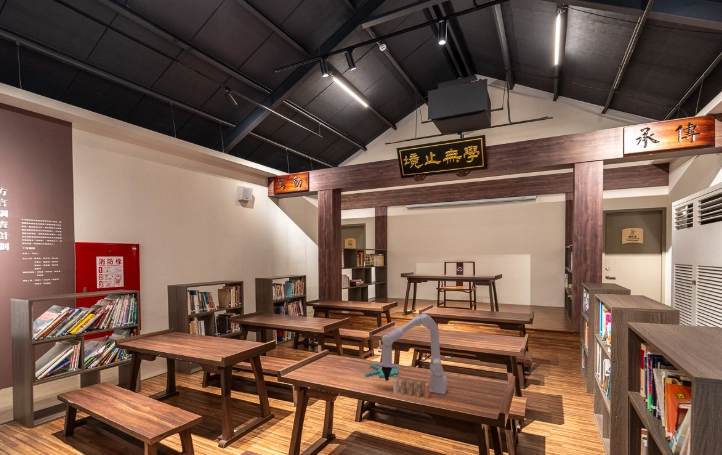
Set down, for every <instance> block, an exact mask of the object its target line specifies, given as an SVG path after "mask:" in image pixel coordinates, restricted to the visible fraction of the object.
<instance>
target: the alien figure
mask: <svg viewBox="0 0 722 455" xmlns="http://www.w3.org/2000/svg"><path fill="white" fill-rule="evenodd" d="M369 368H370V369H372V370H374V371H370V372H366V373H365V378H370V377H373V376H377V375H378V378H379V379H385V376H384V373H383V371H382V367H381V368H380V366H375V364H370V365H369ZM399 370H400V369H394V368H392V370H391V372H390V375H389V377H390V378H391V376H394V375H396V376H398V375H399V372H400V371H399ZM394 377H395V376H394Z"/></svg>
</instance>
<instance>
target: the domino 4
mask: <svg viewBox="0 0 722 455" xmlns="http://www.w3.org/2000/svg"><path fill="white" fill-rule="evenodd" d="M430 396H431V392H430V381H429V382H425V384H424V399H426V400H428V399H429V398H430Z"/></svg>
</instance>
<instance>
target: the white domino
mask: <svg viewBox="0 0 722 455" xmlns="http://www.w3.org/2000/svg"><path fill="white" fill-rule="evenodd" d="M399 380H400V379H399V377H395V378H394V379H393V381H392V382H393V384H392V385H393V386H392V388H393V394H397V393H398V391H399V390H400V389H399V386H400V385H399V382H400V381H399Z"/></svg>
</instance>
